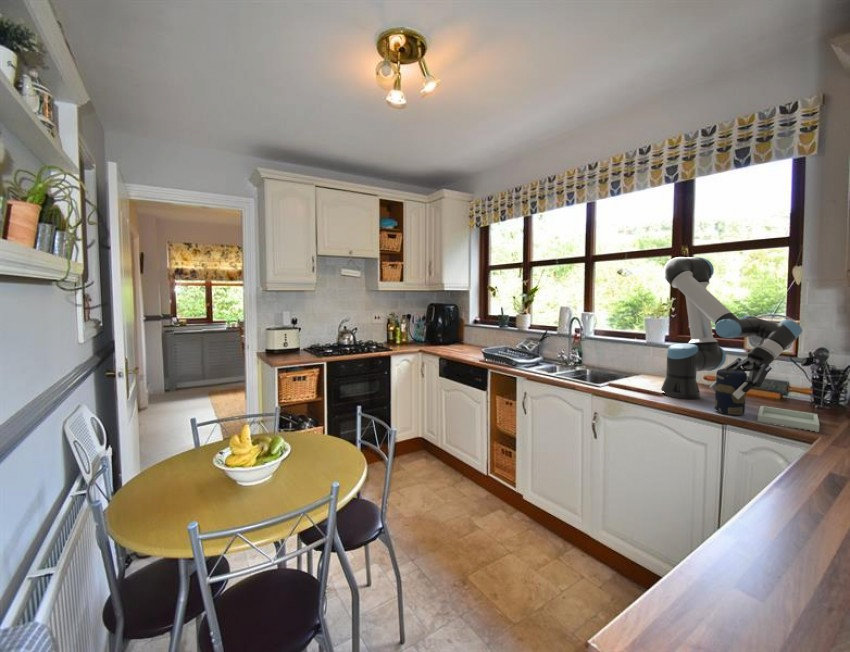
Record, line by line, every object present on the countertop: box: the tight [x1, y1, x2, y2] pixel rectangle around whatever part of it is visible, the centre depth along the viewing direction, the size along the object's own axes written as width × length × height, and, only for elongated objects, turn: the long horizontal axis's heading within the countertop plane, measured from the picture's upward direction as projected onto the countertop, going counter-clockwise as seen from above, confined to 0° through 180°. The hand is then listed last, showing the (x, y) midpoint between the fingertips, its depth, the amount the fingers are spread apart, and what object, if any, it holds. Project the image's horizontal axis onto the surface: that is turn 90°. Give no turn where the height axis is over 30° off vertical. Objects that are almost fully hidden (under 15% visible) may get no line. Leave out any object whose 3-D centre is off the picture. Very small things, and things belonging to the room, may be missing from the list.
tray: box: [757, 405, 820, 433], centre depth 146 cm, size 16×16×3 cm
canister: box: [714, 368, 748, 416], centre depth 155 cm, size 10×10×18 cm
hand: (723, 392), depth 155 cm, fingers open, 11 cm apart
